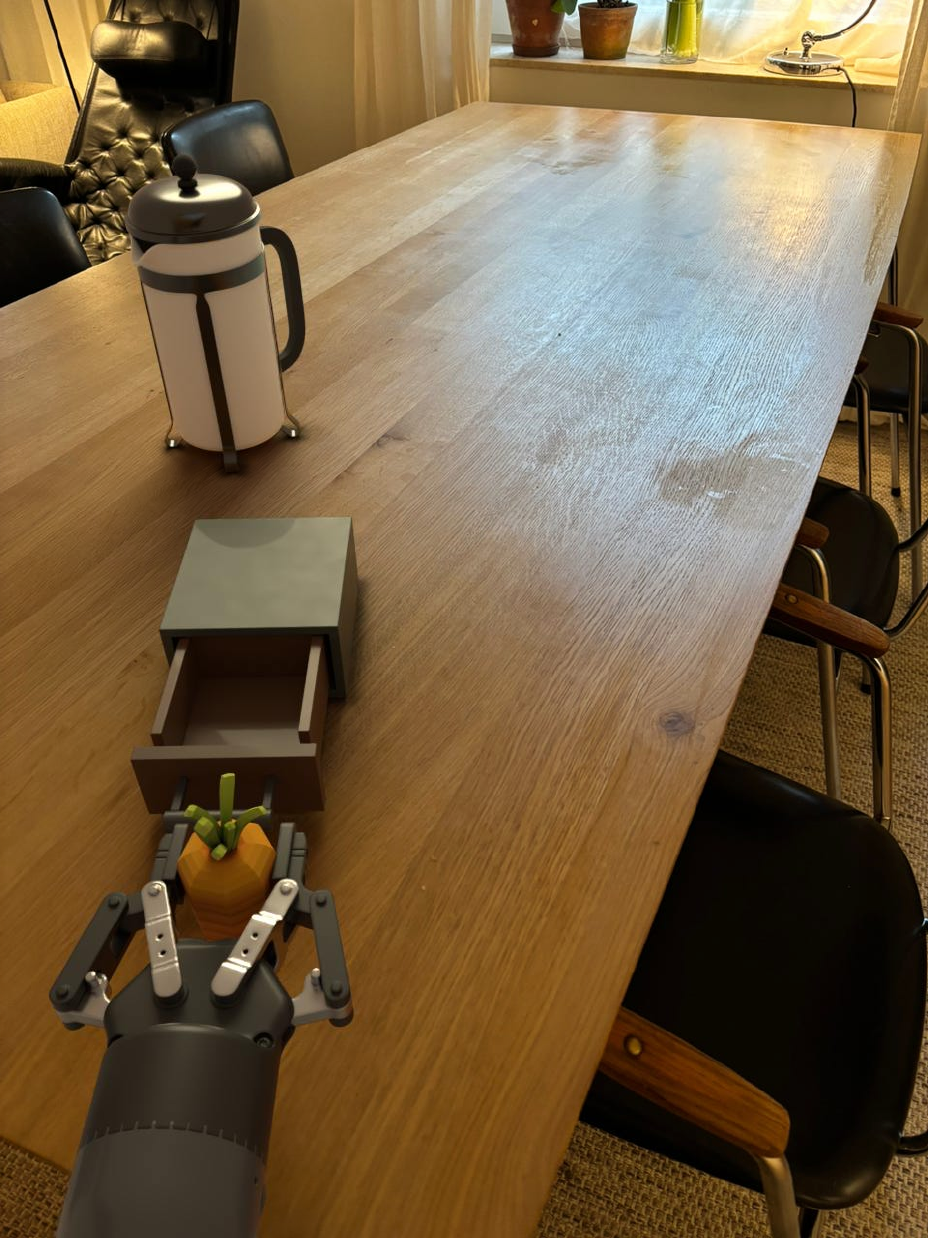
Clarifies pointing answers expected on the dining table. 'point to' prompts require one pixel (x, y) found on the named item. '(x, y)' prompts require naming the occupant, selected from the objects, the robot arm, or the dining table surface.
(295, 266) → the coffee press
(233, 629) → the cabinet
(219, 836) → the carrot
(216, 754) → the drawer
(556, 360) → the dining table surface
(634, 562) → the dining table surface
